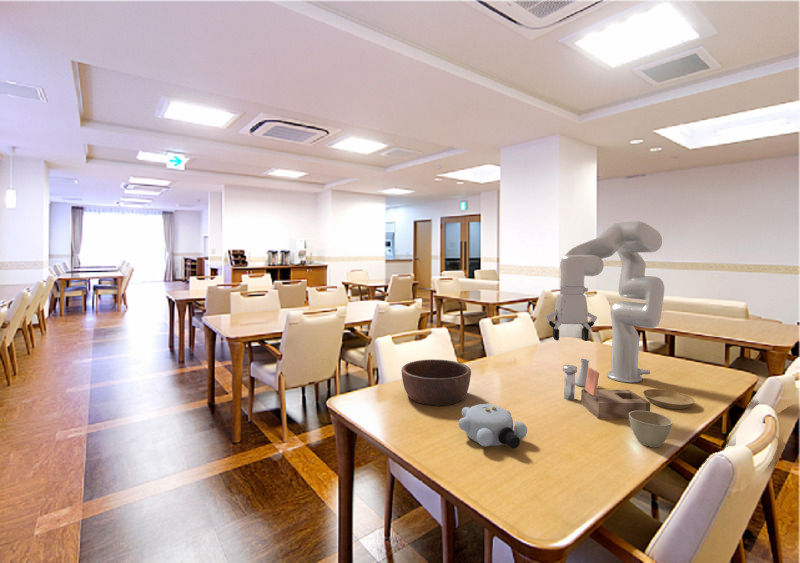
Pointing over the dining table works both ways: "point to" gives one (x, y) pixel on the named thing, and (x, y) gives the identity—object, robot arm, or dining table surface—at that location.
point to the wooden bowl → (436, 381)
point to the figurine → (491, 426)
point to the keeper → (591, 381)
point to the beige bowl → (650, 427)
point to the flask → (582, 373)
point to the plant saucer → (668, 398)
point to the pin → (569, 381)
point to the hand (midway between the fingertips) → (570, 340)
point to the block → (613, 403)
